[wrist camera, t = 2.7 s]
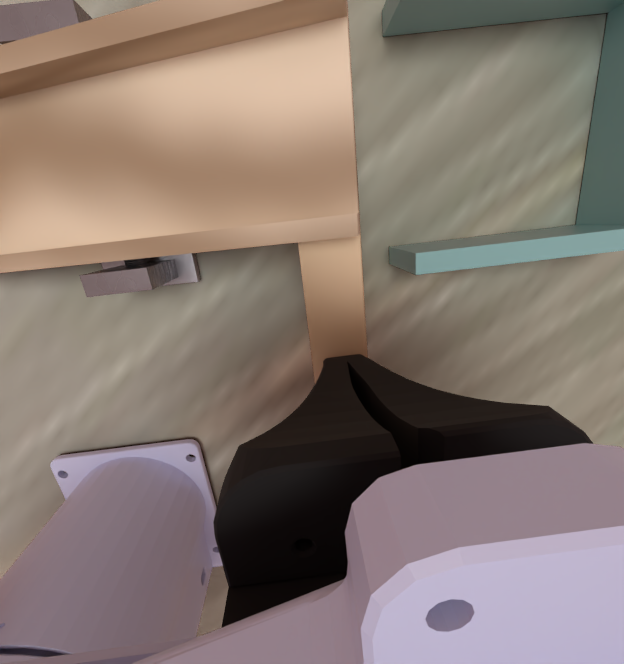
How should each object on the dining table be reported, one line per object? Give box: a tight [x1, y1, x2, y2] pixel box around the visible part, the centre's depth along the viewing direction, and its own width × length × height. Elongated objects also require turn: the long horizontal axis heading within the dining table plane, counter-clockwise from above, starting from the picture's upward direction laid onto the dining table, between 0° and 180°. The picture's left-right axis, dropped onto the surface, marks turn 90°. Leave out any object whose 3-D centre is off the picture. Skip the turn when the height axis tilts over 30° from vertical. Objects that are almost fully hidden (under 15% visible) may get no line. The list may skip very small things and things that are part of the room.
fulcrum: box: [0, 0, 201, 297], centre depth 12 cm, size 9×4×3 cm, turn 6°
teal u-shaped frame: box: [382, 0, 624, 275], centre depth 12 cm, size 10×10×4 cm
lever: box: [0, 0, 368, 384], centre depth 12 cm, size 14×18×3 cm
